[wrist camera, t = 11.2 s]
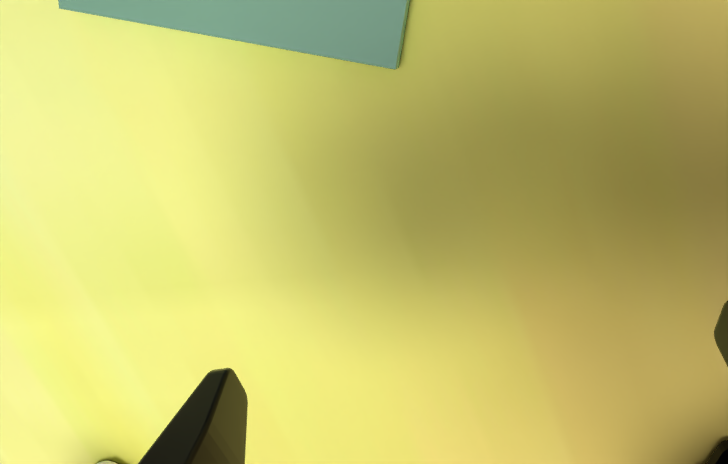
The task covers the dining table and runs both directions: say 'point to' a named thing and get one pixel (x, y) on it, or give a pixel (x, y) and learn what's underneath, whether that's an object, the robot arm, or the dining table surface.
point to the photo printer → (106, 462)
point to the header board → (277, 23)
